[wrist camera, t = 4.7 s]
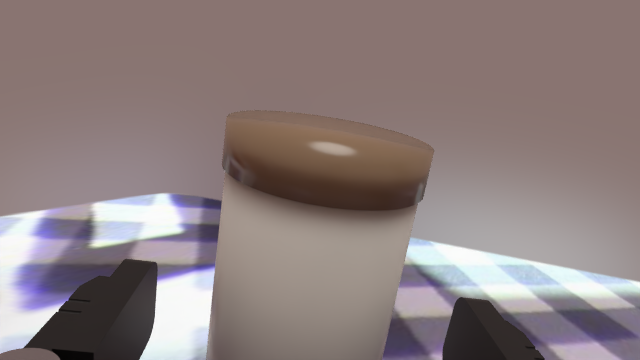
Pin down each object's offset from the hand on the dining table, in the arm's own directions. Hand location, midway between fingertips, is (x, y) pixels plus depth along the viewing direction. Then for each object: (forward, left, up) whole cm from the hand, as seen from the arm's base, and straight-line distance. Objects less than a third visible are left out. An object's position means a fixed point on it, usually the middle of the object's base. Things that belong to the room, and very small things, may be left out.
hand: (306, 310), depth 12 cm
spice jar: (-1, -1, -7) cm, 7 cm away
